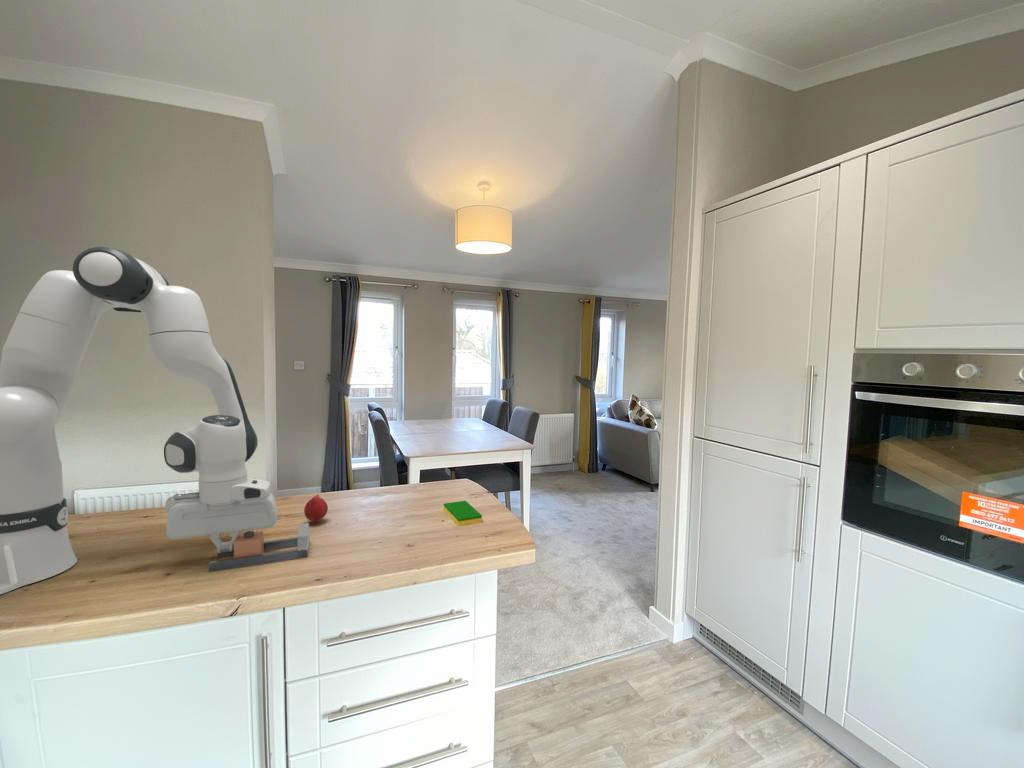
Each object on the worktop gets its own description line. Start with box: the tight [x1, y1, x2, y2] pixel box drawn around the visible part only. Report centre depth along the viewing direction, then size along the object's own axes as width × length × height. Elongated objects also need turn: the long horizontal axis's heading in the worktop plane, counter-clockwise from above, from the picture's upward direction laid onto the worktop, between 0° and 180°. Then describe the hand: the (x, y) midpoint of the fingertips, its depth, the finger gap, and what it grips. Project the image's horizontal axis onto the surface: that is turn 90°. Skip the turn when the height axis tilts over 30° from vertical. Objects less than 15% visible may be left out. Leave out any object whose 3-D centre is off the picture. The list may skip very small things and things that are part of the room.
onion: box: [303, 493, 329, 524], centre depth 116 cm, size 6×6×8 cm
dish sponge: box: [443, 500, 483, 527], centre depth 123 cm, size 7×14×2 cm, turn 26°
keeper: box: [233, 530, 265, 558], centre depth 95 cm, size 5×5×6 cm
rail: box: [208, 522, 310, 573], centre depth 96 cm, size 19×8×5 cm, turn 113°
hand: (225, 551), depth 93 cm, fingers closed
